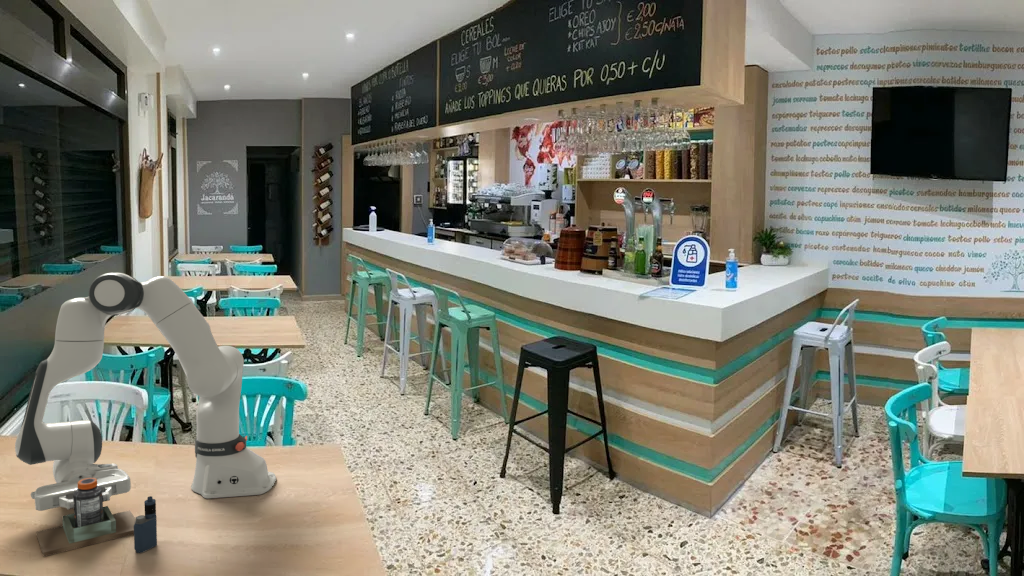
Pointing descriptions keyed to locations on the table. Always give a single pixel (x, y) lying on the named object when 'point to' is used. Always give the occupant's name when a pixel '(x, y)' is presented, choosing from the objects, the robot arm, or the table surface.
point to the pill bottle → (88, 503)
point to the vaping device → (146, 527)
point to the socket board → (85, 532)
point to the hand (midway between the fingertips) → (88, 502)
